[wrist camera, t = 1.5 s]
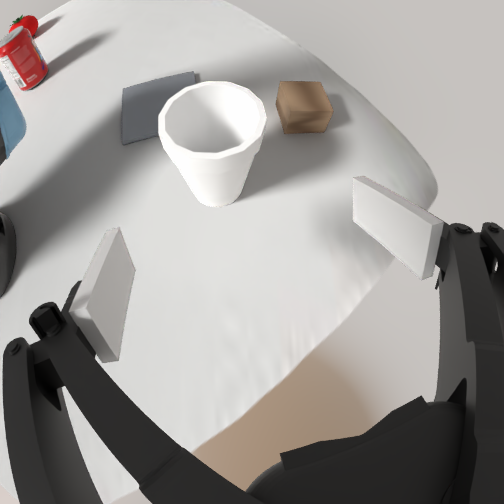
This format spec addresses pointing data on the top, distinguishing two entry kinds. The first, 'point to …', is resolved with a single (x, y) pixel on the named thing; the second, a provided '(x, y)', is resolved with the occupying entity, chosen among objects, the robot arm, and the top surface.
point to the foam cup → (213, 137)
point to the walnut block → (303, 107)
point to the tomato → (26, 24)
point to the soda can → (23, 58)
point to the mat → (149, 105)
